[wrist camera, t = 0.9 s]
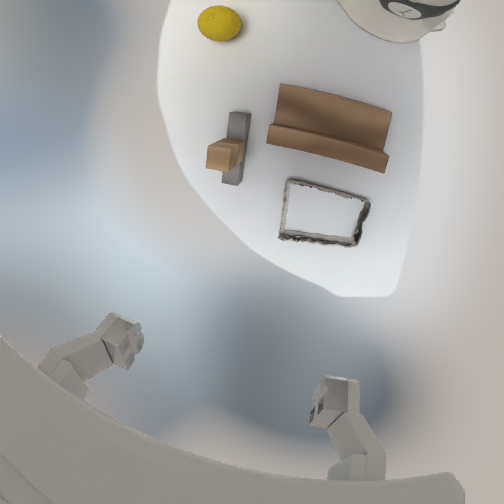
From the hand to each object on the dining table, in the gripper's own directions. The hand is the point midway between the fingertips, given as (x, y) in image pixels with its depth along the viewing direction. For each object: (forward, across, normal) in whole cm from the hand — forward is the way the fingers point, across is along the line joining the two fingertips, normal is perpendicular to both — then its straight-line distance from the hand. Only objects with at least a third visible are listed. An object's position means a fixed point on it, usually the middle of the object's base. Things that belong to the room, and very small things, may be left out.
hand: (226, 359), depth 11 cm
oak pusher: (+34, +9, -1) cm, 35 cm away
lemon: (+34, +13, -20) cm, 42 cm away
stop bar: (+34, -4, -8) cm, 35 cm away
